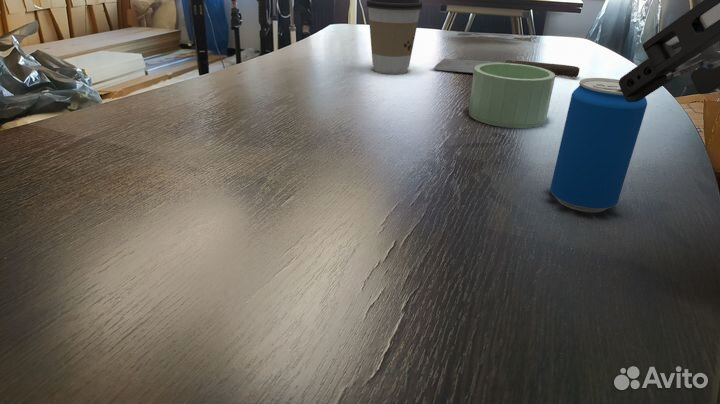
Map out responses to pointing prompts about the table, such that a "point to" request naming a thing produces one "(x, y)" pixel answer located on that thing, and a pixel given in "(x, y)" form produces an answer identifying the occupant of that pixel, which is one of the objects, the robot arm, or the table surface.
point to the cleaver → (469, 65)
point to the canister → (511, 95)
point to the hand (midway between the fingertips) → (662, 88)
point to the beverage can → (596, 145)
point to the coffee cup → (392, 33)
